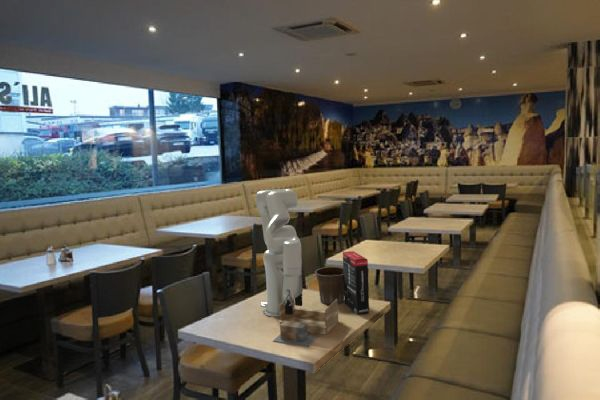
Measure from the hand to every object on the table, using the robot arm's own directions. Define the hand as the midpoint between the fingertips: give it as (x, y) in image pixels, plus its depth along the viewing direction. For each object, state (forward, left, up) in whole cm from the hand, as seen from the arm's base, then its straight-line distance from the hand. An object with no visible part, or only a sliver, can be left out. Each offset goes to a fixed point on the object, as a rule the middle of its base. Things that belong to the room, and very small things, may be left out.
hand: (293, 309), depth 190 cm
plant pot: (-1, +48, -13) cm, 50 cm away
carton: (0, +15, -13) cm, 19 cm away
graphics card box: (+14, +41, -13) cm, 45 cm away
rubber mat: (0, -1, -13) cm, 13 cm away
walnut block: (0, 0, -12) cm, 12 cm away
